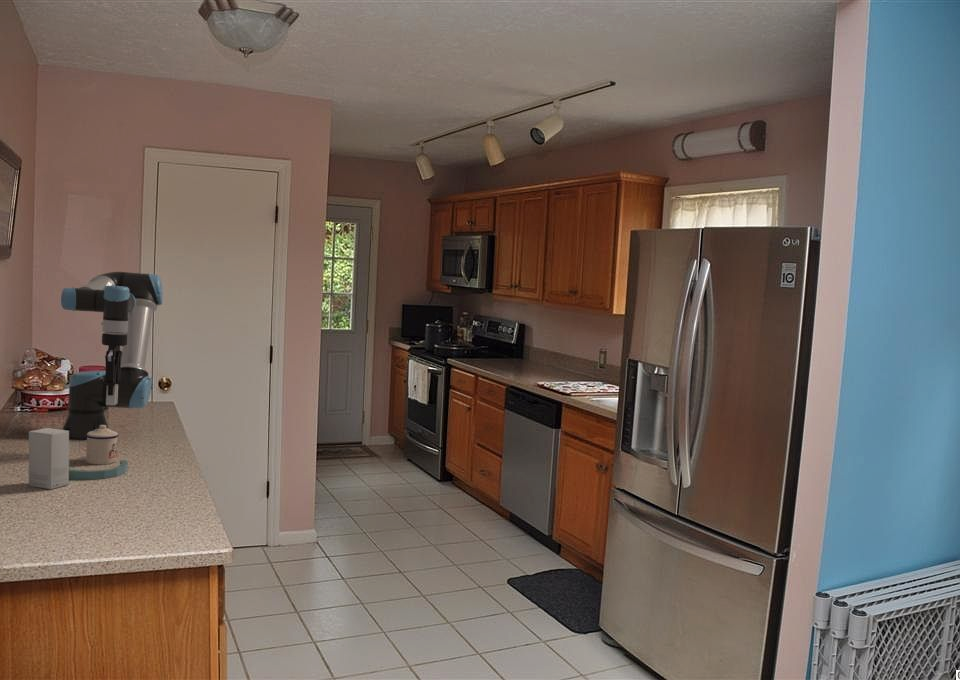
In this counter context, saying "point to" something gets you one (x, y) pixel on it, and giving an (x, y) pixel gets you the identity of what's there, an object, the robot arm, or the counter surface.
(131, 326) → the robot arm
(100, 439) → the teacup with lid
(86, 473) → the open curved ring
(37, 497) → the counter surface
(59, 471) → the skincare box
